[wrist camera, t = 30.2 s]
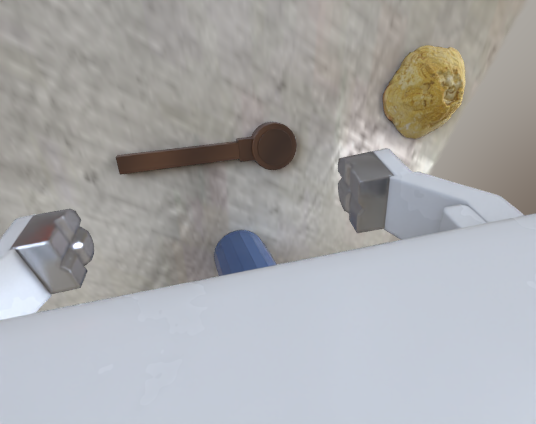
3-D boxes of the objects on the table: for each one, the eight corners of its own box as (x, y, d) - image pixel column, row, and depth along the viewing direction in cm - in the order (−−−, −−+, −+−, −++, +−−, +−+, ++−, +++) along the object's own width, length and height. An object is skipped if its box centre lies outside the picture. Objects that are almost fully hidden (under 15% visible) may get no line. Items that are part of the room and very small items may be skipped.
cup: (205, 265, 42) (216, 316, 33) (229, 222, 41) (248, 262, 32) (248, 281, 44) (270, 332, 35) (272, 241, 43) (301, 282, 34)
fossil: (467, 21, 34) (508, 89, 38) (434, 18, 39) (474, 78, 43) (381, 107, 37) (428, 160, 42) (361, 94, 42) (405, 142, 47)
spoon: (124, 187, 36) (122, 191, 34) (112, 138, 34) (110, 140, 32) (293, 164, 40) (297, 167, 39) (291, 119, 38) (296, 121, 37)
